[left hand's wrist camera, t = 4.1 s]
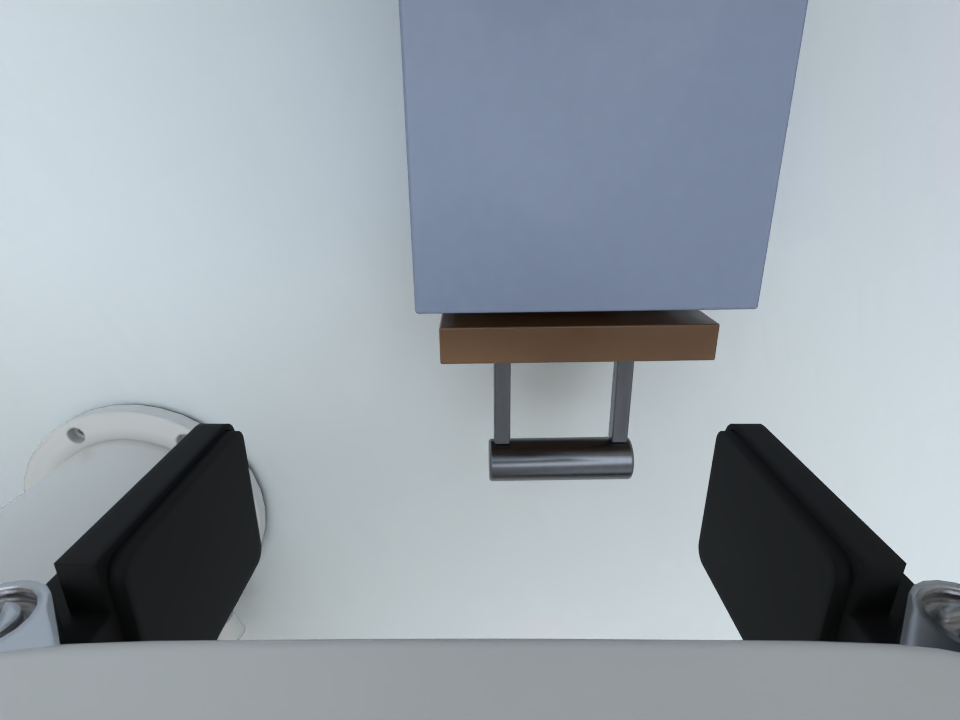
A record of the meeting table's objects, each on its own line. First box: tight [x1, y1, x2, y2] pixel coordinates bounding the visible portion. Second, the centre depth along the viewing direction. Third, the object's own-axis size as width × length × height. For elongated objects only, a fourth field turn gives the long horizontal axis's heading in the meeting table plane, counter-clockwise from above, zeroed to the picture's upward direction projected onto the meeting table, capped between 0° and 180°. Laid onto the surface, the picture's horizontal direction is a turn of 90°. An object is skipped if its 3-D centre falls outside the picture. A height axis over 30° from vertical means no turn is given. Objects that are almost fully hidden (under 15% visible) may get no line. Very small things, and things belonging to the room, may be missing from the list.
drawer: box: [439, 310, 719, 481], centre depth 20 cm, size 25×9×10 cm, turn 1°
